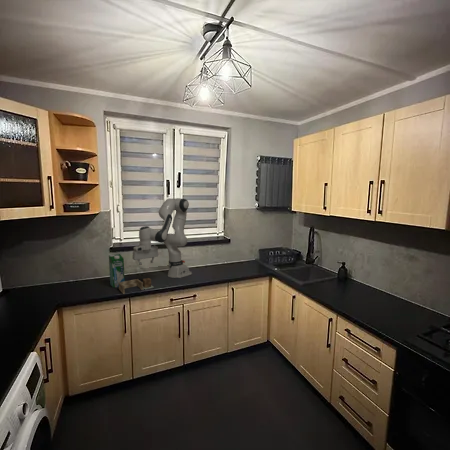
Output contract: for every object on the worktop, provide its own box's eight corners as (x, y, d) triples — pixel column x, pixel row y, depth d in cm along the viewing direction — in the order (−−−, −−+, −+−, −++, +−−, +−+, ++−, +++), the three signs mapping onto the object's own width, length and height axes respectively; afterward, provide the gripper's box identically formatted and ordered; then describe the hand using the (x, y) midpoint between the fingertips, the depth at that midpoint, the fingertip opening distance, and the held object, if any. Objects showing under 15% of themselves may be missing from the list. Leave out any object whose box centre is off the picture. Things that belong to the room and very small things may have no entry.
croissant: (137, 285, 211) (137, 278, 210) (142, 289, 201) (142, 282, 201) (118, 289, 202) (118, 282, 201) (123, 293, 192) (123, 286, 192)
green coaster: (149, 284, 212) (149, 284, 212) (153, 287, 206) (153, 286, 206) (140, 286, 207) (140, 286, 207) (144, 289, 201) (144, 289, 201)
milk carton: (113, 287, 205) (111, 257, 202) (110, 284, 212) (108, 255, 209) (124, 285, 211) (123, 255, 208) (121, 282, 218) (120, 253, 215)
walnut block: (148, 284, 210) (148, 277, 209) (151, 286, 206) (151, 279, 205) (142, 286, 207) (142, 279, 206) (145, 288, 203) (144, 280, 202)
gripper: (156, 244, 212) (156, 260, 214) (131, 247, 200) (132, 265, 202) (159, 245, 207) (160, 262, 209) (134, 249, 195) (135, 266, 197)
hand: (146, 263), depth 205 cm, fingers open, 8 cm apart
